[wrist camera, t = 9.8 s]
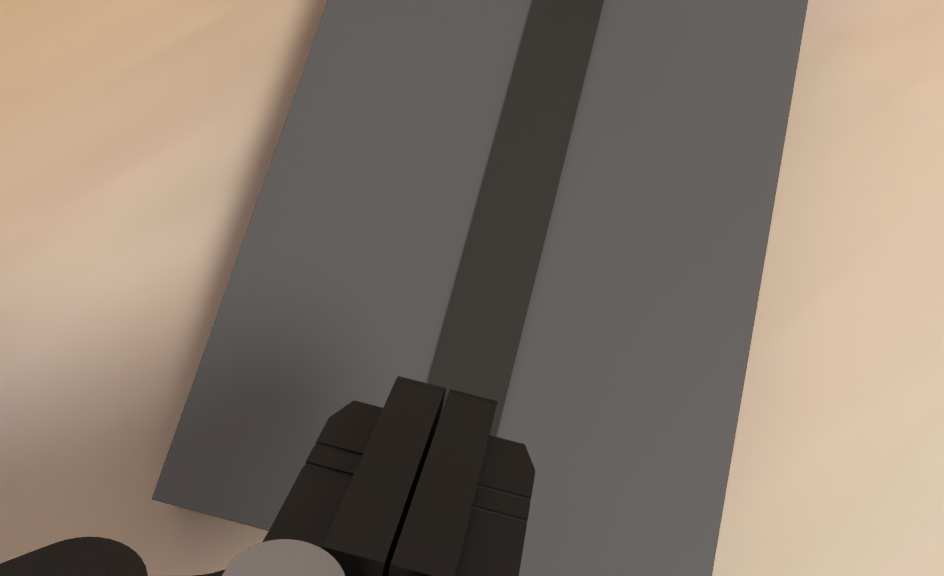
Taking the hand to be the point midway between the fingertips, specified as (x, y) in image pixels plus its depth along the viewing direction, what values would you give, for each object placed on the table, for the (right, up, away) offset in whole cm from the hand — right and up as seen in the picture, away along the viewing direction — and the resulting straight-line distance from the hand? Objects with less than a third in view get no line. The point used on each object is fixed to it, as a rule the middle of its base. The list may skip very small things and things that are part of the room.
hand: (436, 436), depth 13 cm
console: (+3, +7, +9) cm, 12 cm away
